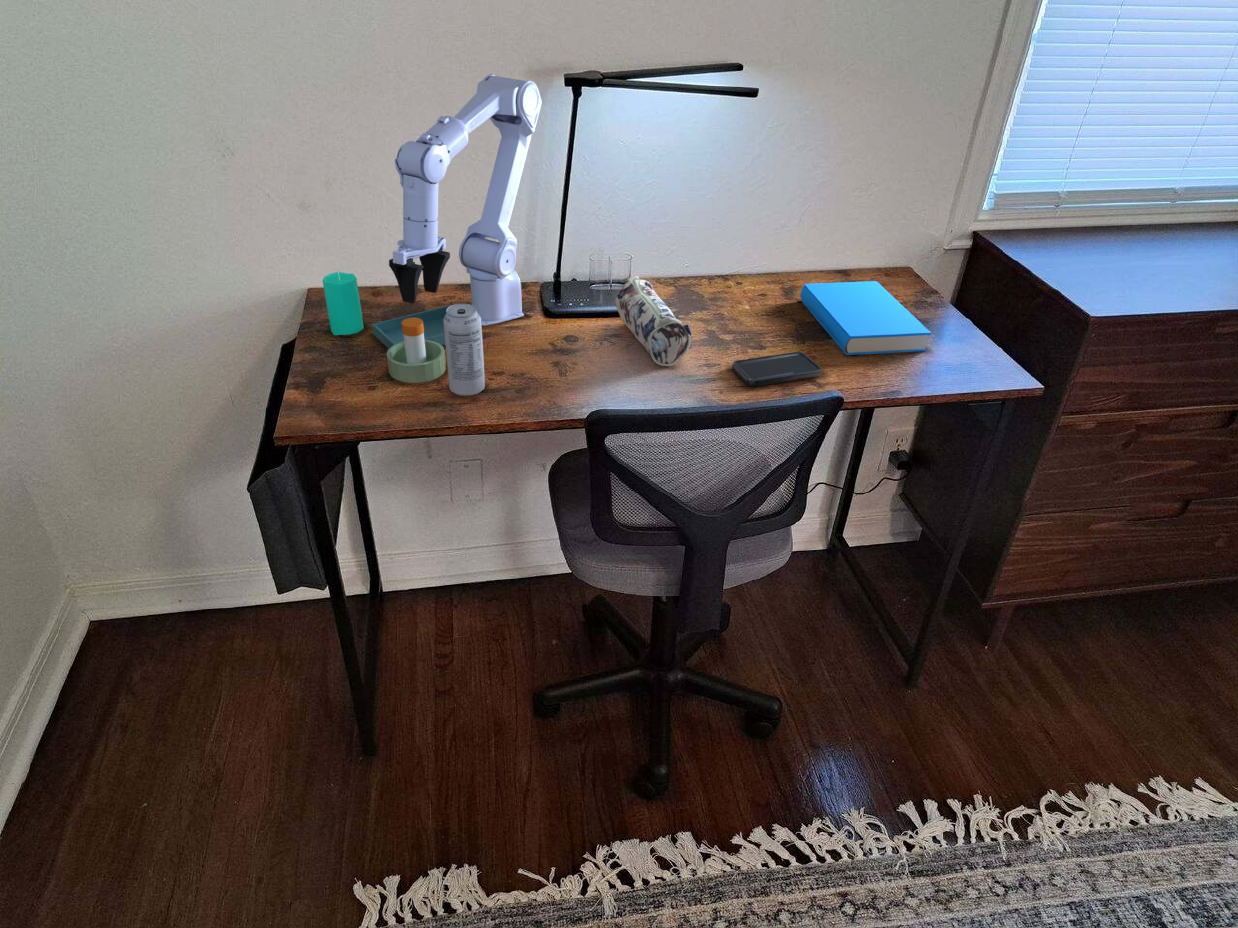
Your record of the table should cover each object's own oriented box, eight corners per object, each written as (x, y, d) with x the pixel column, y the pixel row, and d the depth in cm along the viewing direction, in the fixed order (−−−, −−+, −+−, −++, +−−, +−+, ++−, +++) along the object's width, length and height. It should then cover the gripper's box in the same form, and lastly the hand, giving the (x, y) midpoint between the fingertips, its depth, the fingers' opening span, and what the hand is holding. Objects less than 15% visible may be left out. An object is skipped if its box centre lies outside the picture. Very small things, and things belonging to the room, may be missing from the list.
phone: (730, 361, 153) (802, 350, 157) (729, 367, 153) (801, 356, 158) (750, 382, 147) (824, 370, 151) (749, 387, 147) (823, 375, 152)
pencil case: (691, 365, 154) (696, 316, 148) (648, 370, 151) (651, 321, 146) (651, 315, 170) (654, 270, 165) (611, 319, 168) (613, 273, 163)
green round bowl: (430, 353, 154) (428, 334, 152) (455, 375, 147) (454, 356, 145) (380, 367, 149) (377, 348, 147) (403, 390, 142) (401, 371, 140)
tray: (449, 316, 167) (448, 305, 165) (476, 337, 160) (475, 325, 158) (373, 336, 158) (371, 324, 157) (398, 359, 151) (396, 346, 150)
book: (876, 280, 180) (932, 330, 160) (872, 299, 182) (927, 351, 162) (800, 283, 177) (848, 335, 157) (797, 302, 179) (844, 355, 159)
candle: (355, 338, 157) (345, 278, 150) (325, 334, 158) (314, 274, 151) (369, 325, 162) (360, 266, 155) (340, 321, 163) (330, 262, 156)
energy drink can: (485, 381, 146) (480, 301, 137) (485, 399, 141) (480, 317, 132) (450, 382, 145) (443, 302, 137) (448, 400, 140) (441, 318, 132)
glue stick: (422, 362, 150) (417, 315, 145) (431, 370, 148) (426, 323, 142) (403, 367, 148) (397, 320, 143) (412, 375, 146) (407, 328, 141)
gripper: (421, 208, 148) (420, 283, 155) (375, 221, 136) (377, 302, 142) (457, 215, 147) (455, 290, 153) (414, 228, 134) (414, 310, 141)
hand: (420, 296), depth 147 cm, fingers open, 7 cm apart
